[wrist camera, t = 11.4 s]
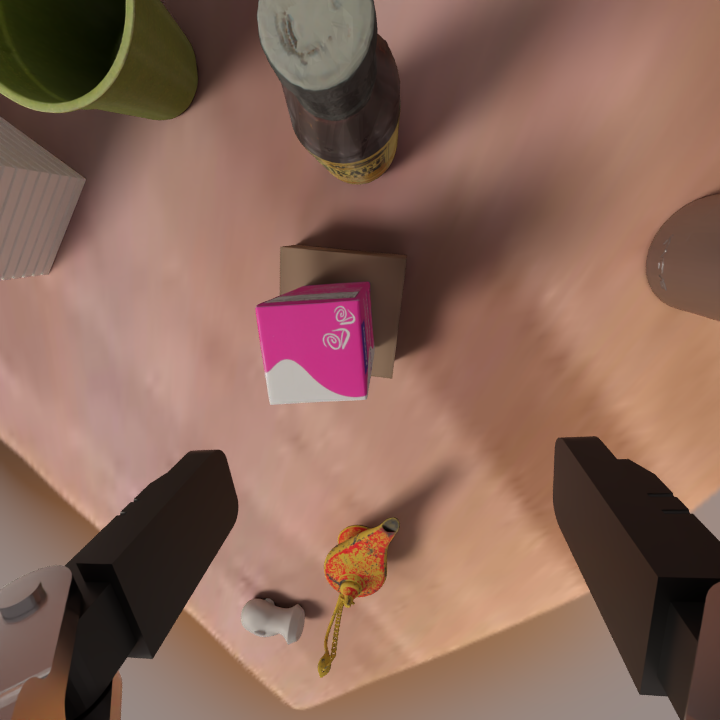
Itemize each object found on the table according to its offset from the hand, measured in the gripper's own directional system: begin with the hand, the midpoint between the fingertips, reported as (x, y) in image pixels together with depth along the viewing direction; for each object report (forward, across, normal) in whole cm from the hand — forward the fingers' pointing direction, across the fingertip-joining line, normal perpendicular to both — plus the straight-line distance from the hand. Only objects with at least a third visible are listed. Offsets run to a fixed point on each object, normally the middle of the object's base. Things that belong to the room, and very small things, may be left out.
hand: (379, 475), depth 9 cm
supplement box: (+22, +5, +1) cm, 23 cm away
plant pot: (+27, +18, -20) cm, 39 cm away
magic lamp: (+27, +7, +27) cm, 39 cm away
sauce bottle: (+27, +2, -12) cm, 30 cm away
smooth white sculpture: (+27, +20, +39) cm, 52 cm away
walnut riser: (+27, +6, 0) cm, 28 cm away
